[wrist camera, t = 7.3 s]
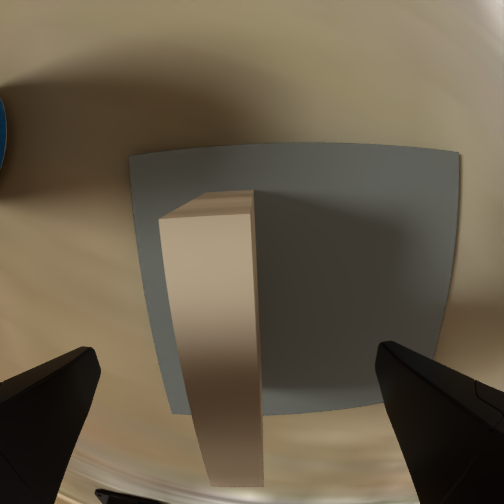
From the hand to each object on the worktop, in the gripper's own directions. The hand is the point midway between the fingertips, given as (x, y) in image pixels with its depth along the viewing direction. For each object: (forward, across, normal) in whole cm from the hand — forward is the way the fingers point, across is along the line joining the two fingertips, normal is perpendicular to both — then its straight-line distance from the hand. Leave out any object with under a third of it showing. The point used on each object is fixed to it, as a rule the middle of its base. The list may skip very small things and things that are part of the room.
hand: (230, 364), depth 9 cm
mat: (+5, -3, 0) cm, 6 cm away
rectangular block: (+4, 0, 0) cm, 4 cm away
